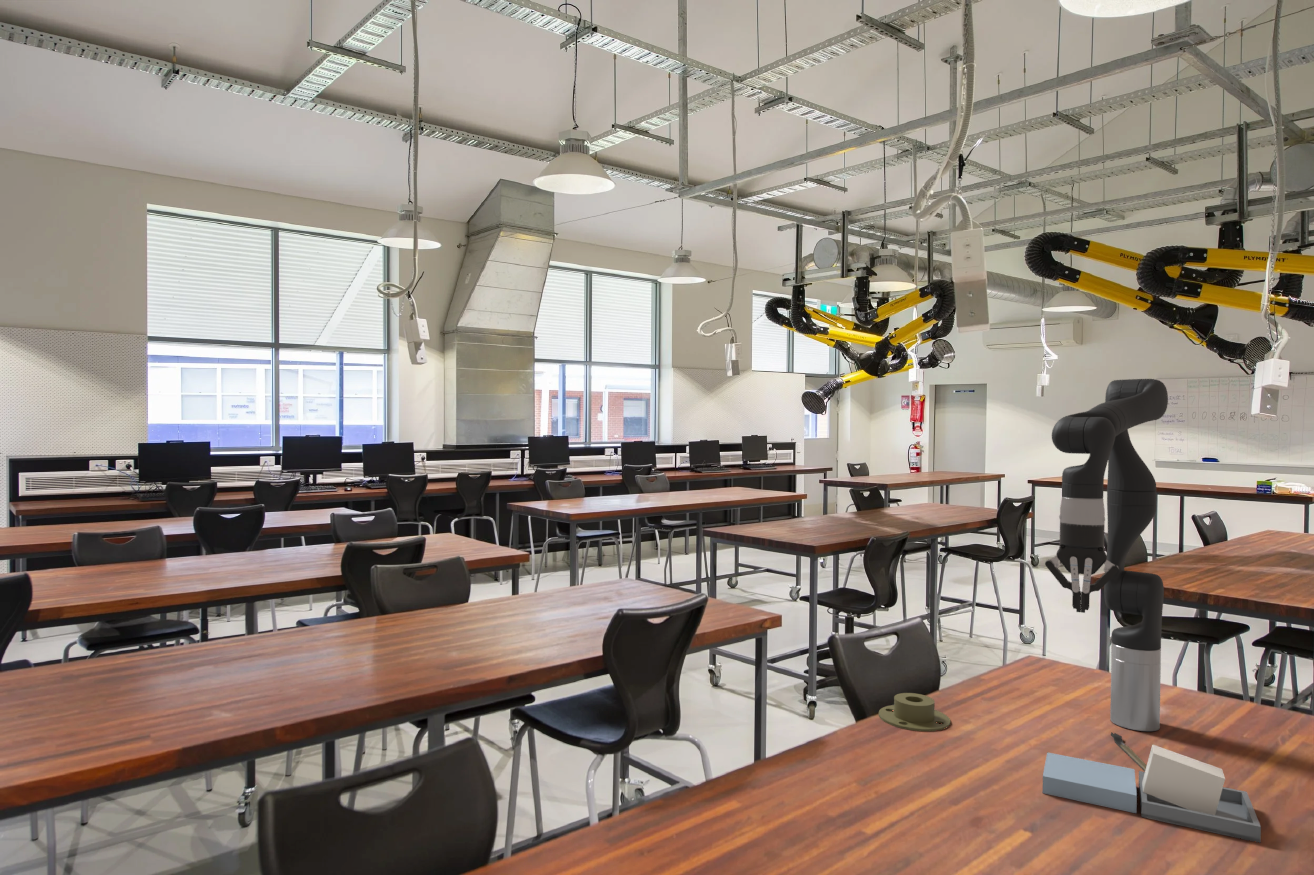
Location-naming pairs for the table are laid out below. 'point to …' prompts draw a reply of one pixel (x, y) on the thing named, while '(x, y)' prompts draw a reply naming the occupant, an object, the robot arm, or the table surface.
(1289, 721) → the table surface
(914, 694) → the flange
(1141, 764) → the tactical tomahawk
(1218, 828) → the tray
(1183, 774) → the white rectangular block
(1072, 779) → the plate
